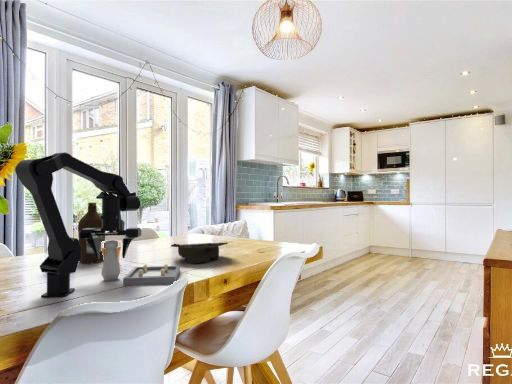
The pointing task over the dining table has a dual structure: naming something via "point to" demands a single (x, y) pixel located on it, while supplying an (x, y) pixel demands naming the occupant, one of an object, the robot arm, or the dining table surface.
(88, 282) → the dining table surface
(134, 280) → the pin tray
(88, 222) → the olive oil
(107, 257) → the salt shaker
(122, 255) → the robot arm
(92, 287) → the dining table surface
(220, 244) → the stone bowl
